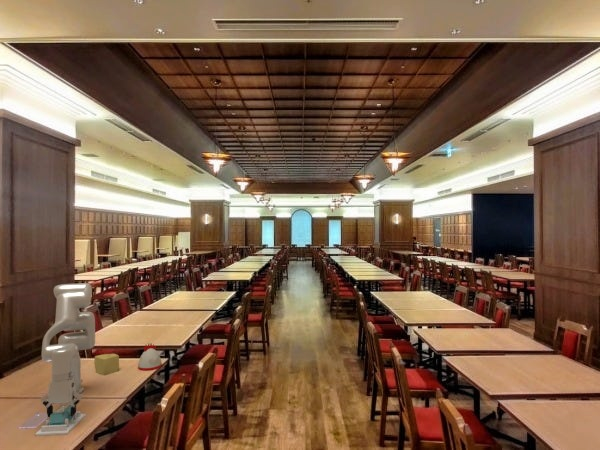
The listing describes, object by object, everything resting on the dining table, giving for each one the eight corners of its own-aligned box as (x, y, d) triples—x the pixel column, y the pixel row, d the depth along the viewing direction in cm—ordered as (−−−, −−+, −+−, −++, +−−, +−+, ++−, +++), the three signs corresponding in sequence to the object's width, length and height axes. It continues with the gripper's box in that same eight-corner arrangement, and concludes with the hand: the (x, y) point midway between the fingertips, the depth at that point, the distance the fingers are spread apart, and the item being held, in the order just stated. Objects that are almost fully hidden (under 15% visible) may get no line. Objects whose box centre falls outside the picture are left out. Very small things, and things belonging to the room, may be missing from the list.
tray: (56, 416, 190) (56, 407, 190) (85, 415, 191) (85, 406, 191) (34, 435, 172) (34, 425, 172) (67, 434, 173) (67, 424, 173)
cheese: (110, 367, 259) (110, 352, 260) (119, 371, 253) (119, 354, 253) (94, 372, 251) (94, 356, 251) (103, 376, 245) (103, 359, 245)
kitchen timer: (134, 367, 260) (134, 343, 261) (155, 362, 270) (155, 339, 270) (143, 372, 250) (143, 347, 250) (165, 367, 260) (165, 343, 260)
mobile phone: (17, 427, 179) (36, 412, 194) (17, 429, 179) (36, 414, 194) (35, 426, 180) (53, 411, 194) (35, 428, 180) (53, 413, 194)
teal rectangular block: (61, 418, 187) (61, 404, 187) (72, 417, 187) (72, 404, 187) (50, 428, 177) (50, 414, 177) (62, 428, 177) (62, 413, 177)
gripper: (85, 372, 187) (85, 410, 186) (45, 374, 185) (45, 412, 185) (78, 378, 179) (78, 418, 179) (36, 380, 178) (36, 420, 177)
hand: (61, 415), depth 182 cm, fingers open, 9 cm apart
